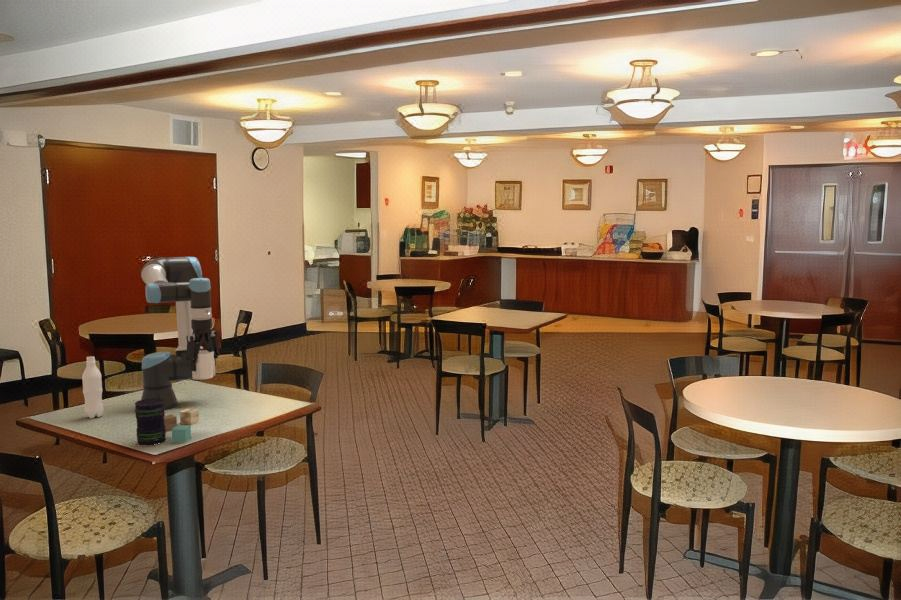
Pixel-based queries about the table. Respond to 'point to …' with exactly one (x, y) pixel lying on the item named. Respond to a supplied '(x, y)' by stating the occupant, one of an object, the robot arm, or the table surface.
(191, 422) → the maple block
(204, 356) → the white cup
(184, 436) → the teal block
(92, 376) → the water bottle
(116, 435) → the table surface
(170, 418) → the walnut block
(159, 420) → the storage jar
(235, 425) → the table surface
